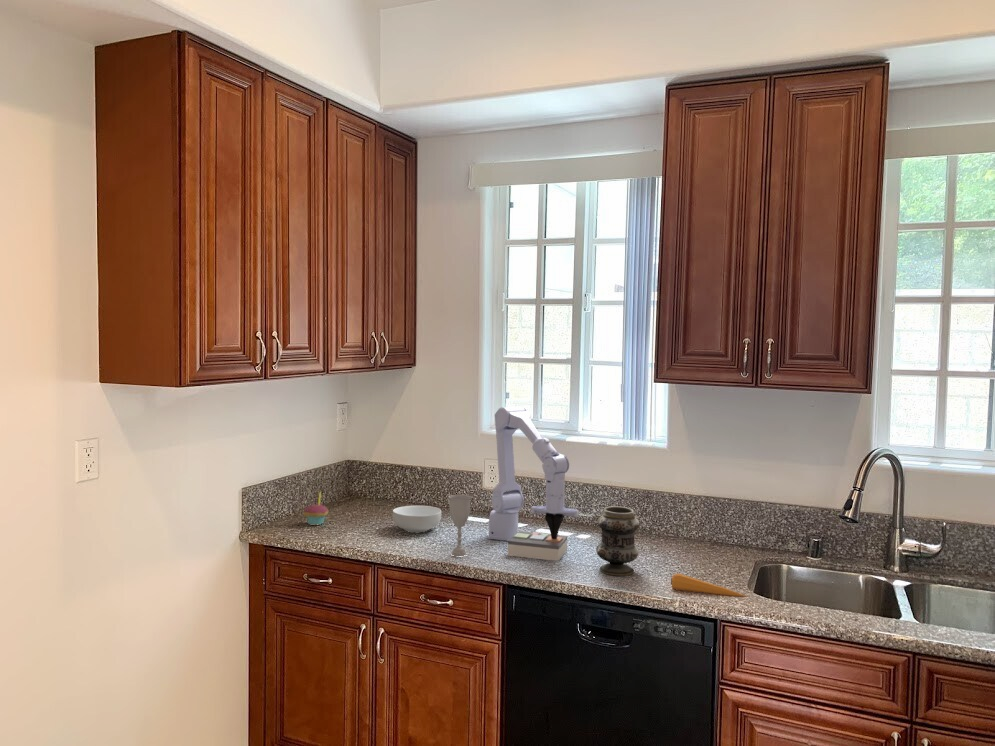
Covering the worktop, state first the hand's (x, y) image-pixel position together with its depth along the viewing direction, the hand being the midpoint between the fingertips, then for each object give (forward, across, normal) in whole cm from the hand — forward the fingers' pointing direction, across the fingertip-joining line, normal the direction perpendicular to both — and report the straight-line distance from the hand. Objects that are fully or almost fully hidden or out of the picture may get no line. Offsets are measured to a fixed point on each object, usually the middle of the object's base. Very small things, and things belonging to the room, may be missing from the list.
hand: (554, 538), depth 227 cm
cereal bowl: (+5, -51, +11) cm, 53 cm away
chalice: (+5, -27, -11) cm, 30 cm away
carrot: (+6, +47, -19) cm, 51 cm away
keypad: (+5, -5, 0) cm, 7 cm away
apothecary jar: (+6, +21, -9) cm, 23 cm away
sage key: (+2, -10, 0) cm, 11 cm away
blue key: (+2, -5, 0) cm, 6 cm away
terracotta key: (+3, 0, 0) cm, 3 cm away
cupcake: (+5, -87, +5) cm, 88 cm away
